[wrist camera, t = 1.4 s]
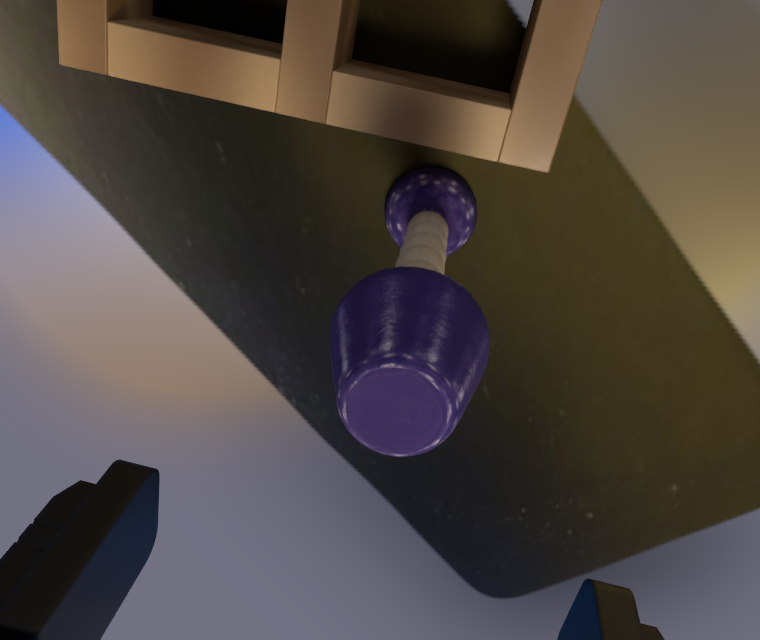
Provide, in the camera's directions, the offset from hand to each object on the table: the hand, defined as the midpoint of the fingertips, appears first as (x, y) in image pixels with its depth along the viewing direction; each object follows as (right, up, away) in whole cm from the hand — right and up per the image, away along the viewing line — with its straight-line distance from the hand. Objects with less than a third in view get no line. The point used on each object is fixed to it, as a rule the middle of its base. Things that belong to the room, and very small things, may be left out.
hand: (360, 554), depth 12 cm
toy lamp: (+3, +10, +19) cm, 21 cm away
